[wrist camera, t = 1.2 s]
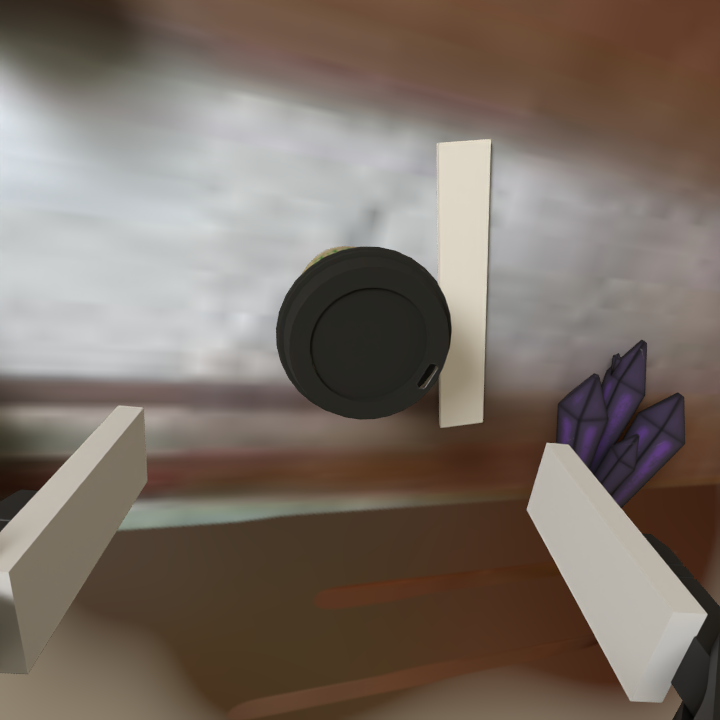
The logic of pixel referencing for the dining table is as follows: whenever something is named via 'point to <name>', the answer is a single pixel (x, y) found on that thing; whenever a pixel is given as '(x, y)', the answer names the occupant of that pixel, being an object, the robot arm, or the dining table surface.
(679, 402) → the crystal
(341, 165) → the dining table surface
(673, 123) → the dining table surface
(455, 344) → the cream flat slat
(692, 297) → the dining table surface
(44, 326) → the dining table surface
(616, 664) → the robot arm
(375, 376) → the coffee cup
